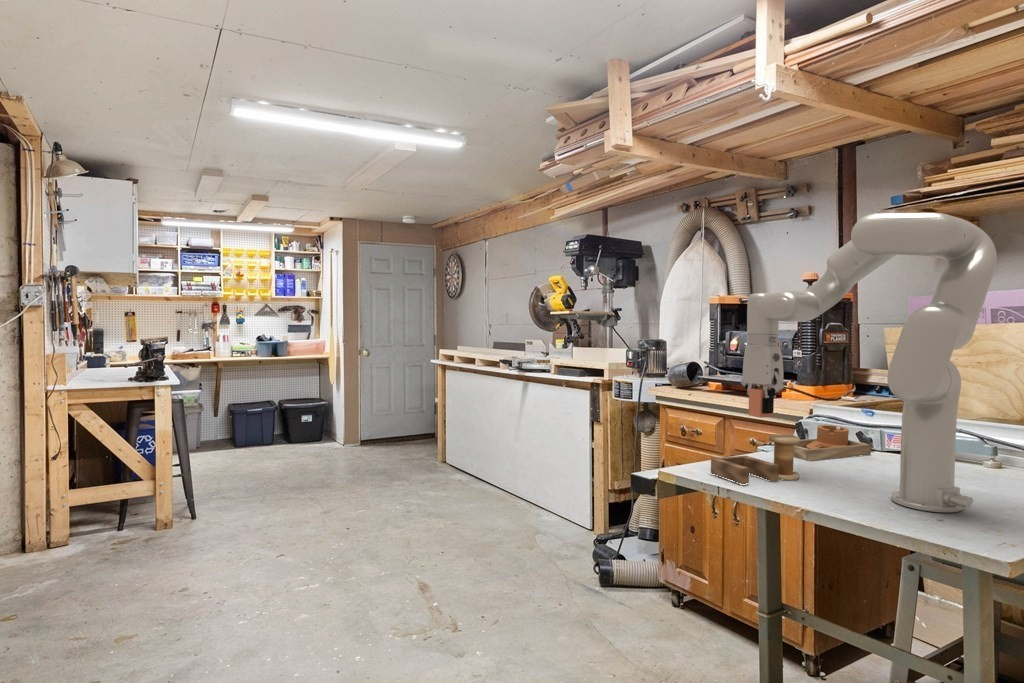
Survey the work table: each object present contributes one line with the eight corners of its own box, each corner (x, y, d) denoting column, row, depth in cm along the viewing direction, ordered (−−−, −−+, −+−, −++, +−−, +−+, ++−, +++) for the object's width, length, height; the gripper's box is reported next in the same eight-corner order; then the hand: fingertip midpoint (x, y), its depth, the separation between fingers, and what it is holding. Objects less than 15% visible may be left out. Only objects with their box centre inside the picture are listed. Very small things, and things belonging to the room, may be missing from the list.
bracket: (820, 445, 189) (822, 423, 189) (850, 450, 184) (852, 428, 183) (801, 456, 176) (803, 433, 175) (833, 463, 171) (835, 438, 170)
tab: (772, 416, 157) (773, 389, 157) (760, 417, 155) (760, 390, 155) (760, 414, 161) (761, 388, 160) (748, 415, 159) (749, 388, 159)
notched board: (778, 481, 147) (778, 465, 147) (742, 485, 143) (742, 468, 143) (745, 470, 157) (745, 455, 157) (710, 474, 153) (711, 458, 153)
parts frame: (870, 455, 177) (870, 444, 177) (809, 461, 169) (809, 450, 169) (834, 446, 189) (834, 437, 189) (775, 452, 180) (775, 442, 180)
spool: (805, 479, 149) (806, 438, 149) (783, 481, 147) (784, 440, 146) (783, 472, 156) (784, 433, 156) (761, 474, 153) (762, 435, 153)
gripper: (799, 342, 151) (797, 416, 152) (750, 340, 167) (749, 407, 167) (775, 342, 148) (774, 417, 149) (728, 340, 164) (727, 408, 164)
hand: (760, 411), depth 158 cm, fingers closed on tab, 4 cm apart
